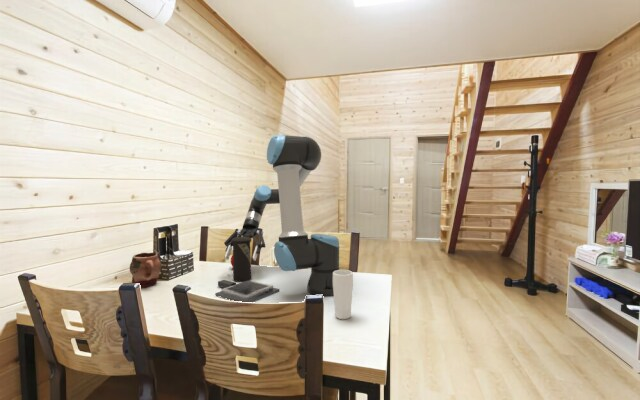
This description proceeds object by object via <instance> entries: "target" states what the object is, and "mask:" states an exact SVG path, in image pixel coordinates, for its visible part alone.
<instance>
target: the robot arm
mask: <svg viewBox="0 0 640 400" xmlns="http://www.w3.org/2000/svg"><path fill="white" fill-rule="evenodd" d="M266 160H267V163H268V164H269V165H272V170H273V171H274V172H275V173H277V174H276V175H277V187H278V188H273V189H272V188H270V187H269V186H268V185H266V184H265V185H264V184H261V185H259V186H257V188H256V189H255V191H254V194H253V197H252V200H251V201H250V205H249V207H248V211H247V212H246V216H245V218H244V221H243V225H242V228H241V229H239V228H235V229H234V232H233V233H232V234H230V236H229V237H228V238H227V239H226V240H225V241H224V242H223V244H224V245H225V255H224V258H225V259H226V261H229V259H230V256H231V253H232V252H233V243H232V242H231V240H232V239H233V238H236V237H250V238H251V239H253V241H254V242H255V244H256V245H255V248H254V251H253V254H252V260H253V261H254V262H256V260H257V257H258V255H260V253H261V250H262V249H263V248H266V243H265V240H264V235H263V234H264V232H263V229H261V228H260V227H259V226H260V223H261V221H262V216H263V214H264V210H265V208H266V206H267V205H275V204H277V205H279V211H280V212H279V213H280V222H281V223H280V224H281V234H279V236H278V241H276V242H275V243H274V246H273V247H274V248H273V252H274V253H273V254H274V257H275V261H276V264H277V265H278V267H279V269H281V270H282V271H284V272H291V271H292V272H295V271H298V270H303V269H310V268H311V271H310V276H309V278H308V282H307V289H306V290H307V293H308V294H309V293H310V294H311V295H314V294H323V295H324V296H323V297H325V296H326V297H328V296H329V297H331V296H332V297H333V296H334V294H333V272H334V271H336V270H340V241H339V238H338V237H337V236H335V235H330V234H323V233H322V234H321V233H313V234H311V235H310V238H309V235H308V233H307V232H305V231H304V222H303V211H302V207H303V206H302V200H301V198H302V197H301V186H302V185H303V183H305V180H306V179H307V178H308V176H309V175H310V173H311V172H312V171H315V170H316V169H317V167H318V166H319V165H320V162H321V160H322V151H321V146H320V145H319V144H318V142H317V141H316V140H315V139H313V138H311V137H309V136H300V135H299V136H298V135H287V134H286V135H285V134H281V135H279V134H275V135H273V136H272V137H270V139H269V142H268V145H267V148H266ZM259 228H260V229H259ZM258 229H259V230H258ZM257 234H258V235H259V238H260V241H259V239H257V237H256V235H257ZM260 242H261V243H260Z"/></svg>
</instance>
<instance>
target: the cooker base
mask: <svg viewBox="0 0 640 400" xmlns="http://www.w3.org/2000/svg"><path fill="white" fill-rule="evenodd" d="M217 287H221V290H220V291H218V292H215V295H216V296H215V295H214V296H215V297H218V296H221V297H222V298H221V297H220V298H221V299H225V298H227V299H226V300H228V301H231V300H234V301H242V302H252V303H255V302H258V301H259V300H262V299H264V298H265V299H266V298H267V297H269V296H271V295H274V294H276V293H279V292H280V288H276V287H274V285H272V284H271V285H270V284H267V283H263V282H258V281H255V280H254V281H253V280H248V281H244V282H239V283H236V281H231V280H226V279H221V280H218V281H217ZM229 299H230V300H229ZM234 301H233V302H234Z"/></svg>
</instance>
